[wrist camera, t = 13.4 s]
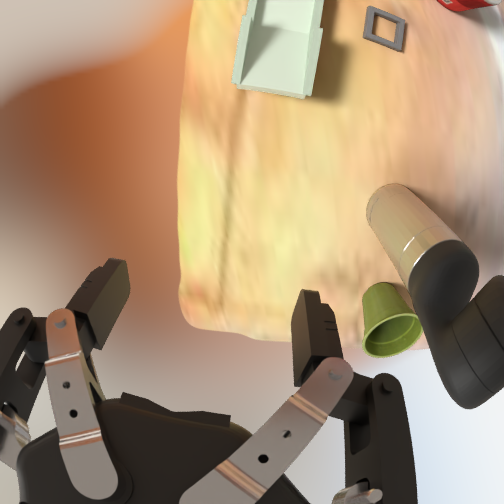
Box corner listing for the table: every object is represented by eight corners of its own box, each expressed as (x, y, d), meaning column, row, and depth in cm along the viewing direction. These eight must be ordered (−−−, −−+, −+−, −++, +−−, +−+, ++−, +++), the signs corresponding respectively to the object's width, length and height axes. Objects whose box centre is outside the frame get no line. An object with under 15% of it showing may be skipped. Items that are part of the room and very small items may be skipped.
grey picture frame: (401, 21, 24) (405, 20, 23) (397, 51, 27) (401, 50, 26) (367, 7, 24) (369, 5, 23) (362, 37, 27) (365, 36, 26)
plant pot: (389, 261, 46) (411, 302, 37) (411, 295, 51) (431, 334, 41) (339, 295, 51) (350, 340, 42) (366, 324, 55) (378, 365, 46)
